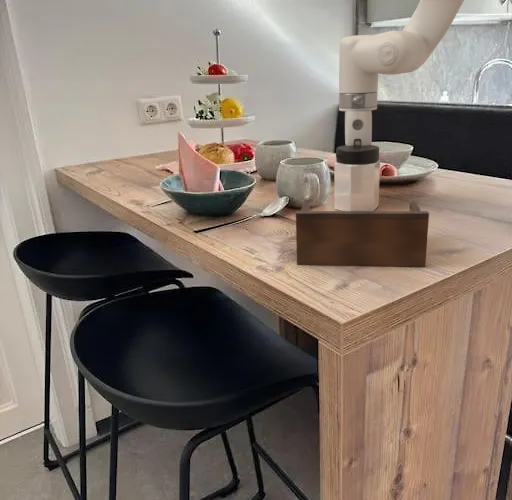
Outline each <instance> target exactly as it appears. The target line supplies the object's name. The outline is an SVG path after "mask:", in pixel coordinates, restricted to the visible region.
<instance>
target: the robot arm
mask: <svg viewBox="0 0 512 500" xmlns="http://www.w3.org/2000/svg"><path fill="white" fill-rule="evenodd" d="M464 1H465V0H419V2H418V4H417V7H416V9H415V10H414V12H413V14H412V15H411V17H410V19H409V20H408V22H407V23H406V24H405V26H404V27H403V29H402V30H389V31H384V32H380V33H377V34H376V33H375V34H357V35H348V36H345V37H343V38H342V39H341V41H340V43H339V59H338V61H339V63H338V65H339V67H338V69H339V70H338V72H339V73H338V93H339V94H338V111H339V112H344V143H345V145H347V146H354V145H361V146H364V145H373V143H372V139H373V114H372V111H375V110H378V95H379V94H378V92H379V74H380V75H389V76H390V75H391V76H393V75H401V74H408V73H412V72H415V71H416V70H419V68H421V67H422V66H423V65H424V64H425V63H426V62H427V60H428V59H429V58H430V56H432V54H433V52H434V51H435V49H436V48H437V47H438V45H439V44H440V42H441V41H442V39H443V38H444V37H445V35H446V34H447V32H448V30H449V29H450V27H451V26H452V23H453V22H454V20H455V18H456V16H457V15H458V13H459V10H460V9H461V7H462V6H463V4H464ZM345 145H344V146H345Z"/></svg>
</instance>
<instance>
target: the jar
mask: <svg viewBox="0 0 512 500" xmlns="http://www.w3.org/2000/svg"><path fill="white" fill-rule="evenodd" d="M335 151H336V152H335V161H334V167H333V169H334V180H333V181H334V185H333V186H334V189H333V191H334V196H333V197H334V198H333V199H334V200H333V202H334V203H333V204H334V205H333V208H334V210H335V211H376V209H377V208H378V207H379V204H380V203H379V201H380V175H381V173H380V172H381V159H380V147H379V146H378V145H374V144H371V145H364V146H361V145H354V146H347V145H339V146H338V147H336V149H335Z"/></svg>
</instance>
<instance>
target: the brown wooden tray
mask: <svg viewBox="0 0 512 500" xmlns="http://www.w3.org/2000/svg"><path fill="white" fill-rule="evenodd" d="M310 205H311V204H310V201H303V203H302V205H301V209H300V210H296V211H295V236H296V237H295V238H296V243H295V245H296V265H300V266H301V265H304V266H305V265H307V266H354V267H355V266H357V267H358V266H359V267H403V266H407V268H413V267H414V268H425V267H426V263H427V261H426V260H427V248H428V237H429V236H428V234H429V223H430V222H429V220H430V212H429V211H428V210H421V208H420V206H419V204H418V203H417V201H410V202H409V210H374V211H340V210H311V206H310ZM409 266H411V267H409ZM416 266H417V267H416ZM422 266H424V267H422Z"/></svg>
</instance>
